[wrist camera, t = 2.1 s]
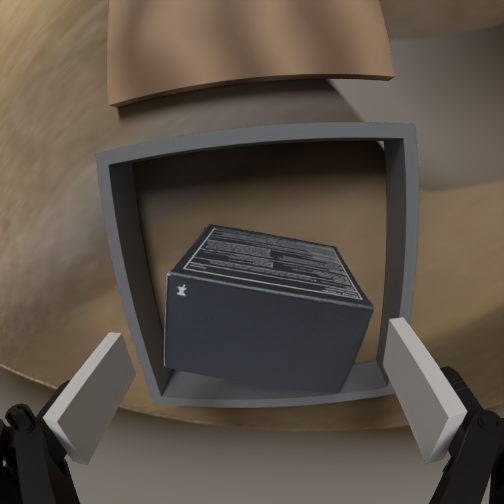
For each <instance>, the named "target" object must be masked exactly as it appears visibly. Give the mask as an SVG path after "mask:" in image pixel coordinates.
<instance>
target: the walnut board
mask: <svg viewBox="0 0 504 504" xmlns="http://www.w3.org/2000/svg"><path fill="white" fill-rule="evenodd" d="M394 77H395V73H394V67H393V61H392V56H391V50H390V45H389V40H388V36H387V31H386V27H385V22H384V18H383V14H382V10H381V6H380V3H379V0H110V2H109V17H108V41H107V83H108V105H109V106H113V107H121V106H125V105H129V104H132V103H136V102H140V101H145V100H149V99H153V98H158V97H162V96H167V95H172V94H177V93H182V92H188V91H194V90H200V89H206V88H212V87H219V86H227V85H235V84H243V83H253V82H264V81H278V80H296V79H366V80H383V81H389V80H391V79H392V78H394Z"/></svg>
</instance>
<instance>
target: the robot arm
mask: <svg viewBox="0 0 504 504" xmlns="http://www.w3.org/2000/svg"><path fill="white" fill-rule="evenodd" d="M383 367H384V369H385V371H386V373H387V375H388V377H389V380H390V382H391V384H392V386H393V388H394V391H395V393H396V395H397V397H398V399H399V402H400V404H401V406H402V408H403V411H404V413H405V415H406V418H407V420H408V422H409V425H410V427H411V429H412V432H413V434H414V437H415V439H416V441H417V444H418V446H419V449H420V451H421V454H422V456H423V459H424V461H425V464H428V463H431V462H434V461H437V460H441V459H443V457H444V456H445V454H446V452H447V450H448V451H449V453H450V455H451V458H450V460H449V461H448V463H447V465H446V466H445V468H444V470H443V472H444V473H443V475H442V478H441V480H440V482H439V484H438V486H437V488H436V491H435V493H434V495H433V497H432V499H431V501H430V503H429V504H481V501H482V499H483V496H484V493H485V490H486V487H487V484H488V480H489V477H490V474H491V484H490V485H491V486H490V498H489V504H504V418H500V417H499V416H498V415H497V414H496V413H495V412H492V411H489V410H483V408H482V407H481V405H480V404H479V402H478V401H477V399H476V398H475V396H474V395H473V393H472V392H471V390H470V389H469V388H468V387H467V385H466V383H465V382H463V379H462V378H461V376H460V375H459V373H458V372H457V371H455V370H454V369H452V368H451V367H449V366H447V367H443V368H439V367H438V365H437V364H436V362H435V361H434V359H433V358H432V357H431V355H430V354H429V352H428V351H427V349H426V348H425V347H424V345H423V344H422V342H421V341H420V339H419V338H418V337H417V335H416V334H415V333H414V331H413V330H412V328H411V327H410V326H409V324H408V323H407V322H406V320H405V319H404V317H402V318H395V319H389V325H388V333H387V340H386V347H385V353H384V360H383ZM135 376H136V374H135V371H134V368H133V365H132V362H131V359H130V356H129V354H128V351H127V348H126V344H125V341H124V338H123V335H122V333H109V334H108V335H107V336H106V337H105V339H104V340H103V341H102V342H101V344H100V345H99V346H98V347H97V348H96V350H95V351H94V352H93V353H92V355H91V356H90V357H89V358H88V360H87V361H86V362H85V363H84V365H83V366H82V367H81V368H80V370H79V371H78V372H77V373H76V375H75V376H74V377H73V379H72V380H71V381H69V380H68V381H66V382H65V383H64V384H62V385H61V386H60V387H59V388H58V389H57V390H56V392H55V393H54V395H52V397H51V398H50V400H49V401H48V402H47V403H46V405H45V406H44V407H43V408H42V410H41V411H40V412H39V414H38V415H37V416H36V417H35V416H34V414H33V413H32V411H31V409H30V408H29V406H27V405H26V404H17V405H14V406H12V407H11V408H10V409H8V411H7V413H6V415H5V418H6V420H7V421H8V423H9V424H10V426H11V427H9V426H6V425H5V424H4V422H3V421H2V420H1V419H0V504H80V502H79V499H78V496H77V493H76V490H75V487H74V484H73V481H72V478H71V474H70V471H69V468H68V464H67V462H66V460H65V459H64V457H65V455H66V454H68V455H69V456H70V458H71V459H72V460H73V461H74V462H77V463H80V464H84V465H88V463H89V461H90V459H91V457H92V455H93V453H94V451H95V449H96V447H97V445H98V444H99V442H100V440H101V438H102V436H103V434H104V432H105V430H106V429H107V427H108V425H109V423H110V421H111V419H112V417H113V416H114V414H115V412H116V410H117V408H118V407H119V405H120V403H121V401H122V399H123V397H124V396H125V394H126V392H127V390H128V388H129V387H130V385H131V383H132V381H133V380H134V378H135ZM3 460H4V461H5V462H6V464H5V467H4V466H3Z"/></svg>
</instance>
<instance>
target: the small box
mask: <svg viewBox="0 0 504 504" xmlns="http://www.w3.org/2000/svg"><path fill="white" fill-rule="evenodd" d="M373 311H374V307H373V305H372V303H371V302H370V301H369V300H368V299H367V297H366V296H365V294H364V293H363V292H362V290H361V288H360V286H359V285H358V284H357V282H356V280H355V278H354V277H353V275H352V273H351V272H350V270H349V268H348V267H347V265H346V264H345V262H344V260H343V259H342V257H341V255H340V254H339V252H338V250H337V248H336V247H334V246H328V245H323V244H318V243H313V242H307V241H302V240H297V239H291V238H286V237H281V236H275V235H270V234H264V233H260V232H254V231H247V230H242V229H236V228H229V227H223V226H217V225H212V224H209V225H208V226H207V227H205V229H204V232H203V233H202V234H201V235H200V237H199V238H198V239H197V240H196V241H195V242H194V244H193V245H192V246H191V247H190V249H189V250H188V251H187V252H186V254H185V255H184V256H183V257H182V258H181V260H180V261H179V262H178V263H177V265H176V266H175V267H174V268H173V269H172V270H170V271H169V272H168V273H167V274H166V294H165V321H164V366H165V367H167V368H171V369H175V370H180V371H184V372H189V373H193V374H198V375H203V376H208V377H214V378H219V379H224V380H230V381H236V382H241V383H248V384H254V385H260V386H267V387H275V388H282V389H291V390H299V391H308V392H318V393H330V394H339V393H340V392H341V390H342V389H343V387H344V385H345V383H346V380H347V378H348V376H349V374H350V371H351V369H352V366H353V364H354V362H355V360H356V357H357V354H358V352H359V349H360V347H361V344H362V342H363V339H364V336H365V334H366V331H367V328H368V325H369V323H370V320H371V317H372V314H373Z"/></svg>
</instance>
